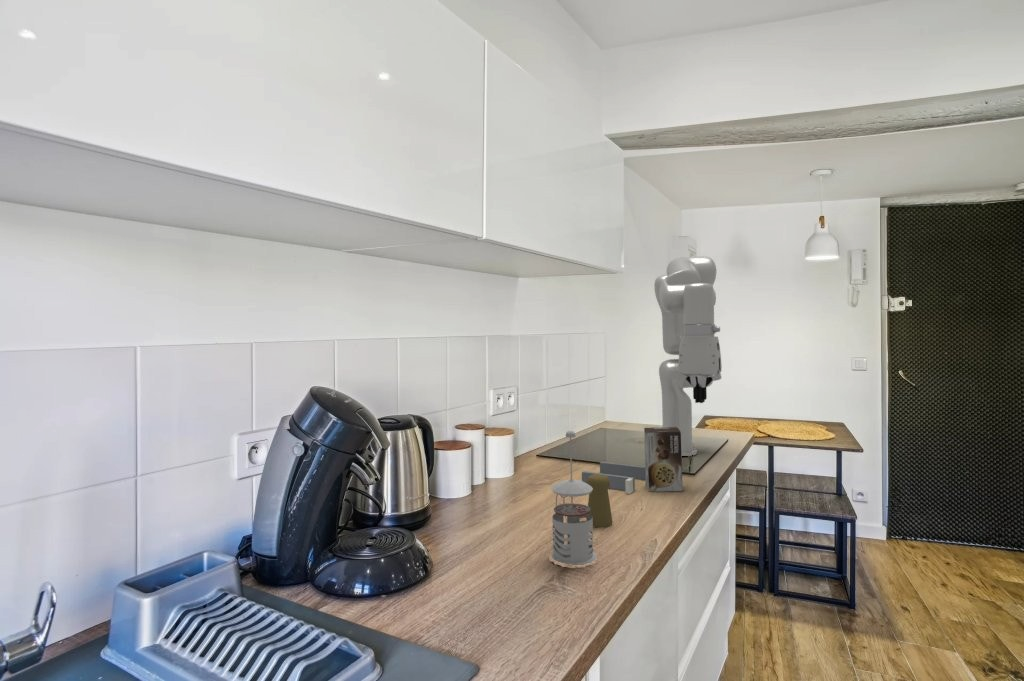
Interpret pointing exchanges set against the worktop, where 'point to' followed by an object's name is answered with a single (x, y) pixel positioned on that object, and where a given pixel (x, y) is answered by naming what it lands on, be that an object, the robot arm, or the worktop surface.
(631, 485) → the pair of grey bars
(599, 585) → the worktop surface
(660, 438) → the coffee box
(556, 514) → the french press
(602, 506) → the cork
